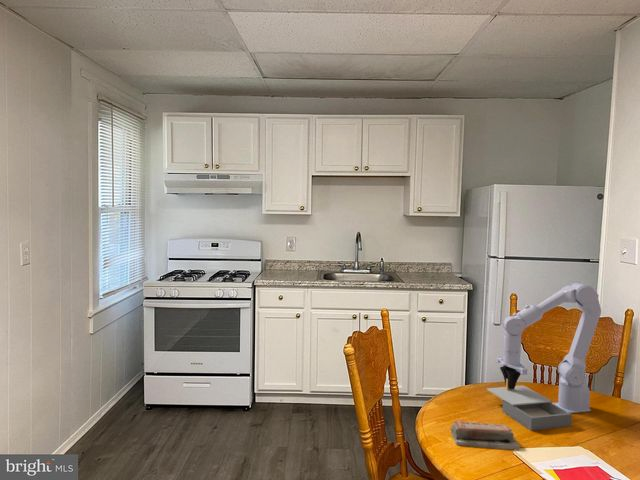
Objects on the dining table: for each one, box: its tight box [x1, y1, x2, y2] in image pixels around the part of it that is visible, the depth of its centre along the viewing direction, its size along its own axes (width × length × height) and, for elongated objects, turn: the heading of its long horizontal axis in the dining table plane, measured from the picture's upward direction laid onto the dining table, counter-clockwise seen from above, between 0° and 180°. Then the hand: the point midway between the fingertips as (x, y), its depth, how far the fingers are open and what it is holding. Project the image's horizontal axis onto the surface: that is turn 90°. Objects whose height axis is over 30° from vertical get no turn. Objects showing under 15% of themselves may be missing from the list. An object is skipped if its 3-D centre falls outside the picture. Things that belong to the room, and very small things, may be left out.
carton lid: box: [486, 378, 553, 406], centre depth 164 cm, size 15×14×4 cm
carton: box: [501, 399, 573, 432], centre depth 155 cm, size 15×14×4 cm
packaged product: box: [449, 420, 521, 451], centre depth 140 cm, size 18×5×10 cm
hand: (510, 387), depth 168 cm, fingers closed, pressing on carton lid
